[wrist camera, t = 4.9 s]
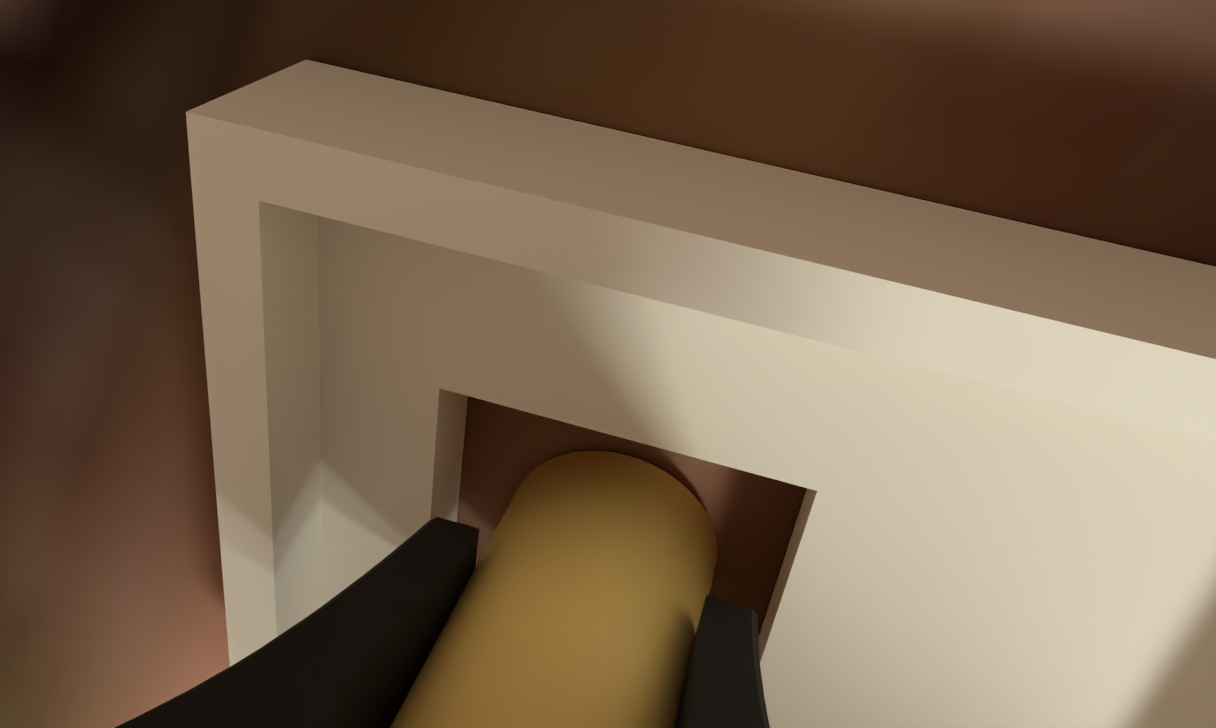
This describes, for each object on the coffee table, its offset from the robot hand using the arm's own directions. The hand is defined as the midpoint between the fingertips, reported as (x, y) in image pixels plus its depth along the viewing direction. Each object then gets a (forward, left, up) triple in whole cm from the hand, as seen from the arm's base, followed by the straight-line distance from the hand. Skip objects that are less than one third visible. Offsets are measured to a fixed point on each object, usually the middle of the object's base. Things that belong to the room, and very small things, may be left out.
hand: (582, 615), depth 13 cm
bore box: (-2, 0, -2) cm, 3 cm away
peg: (0, 0, -2) cm, 2 cm away
